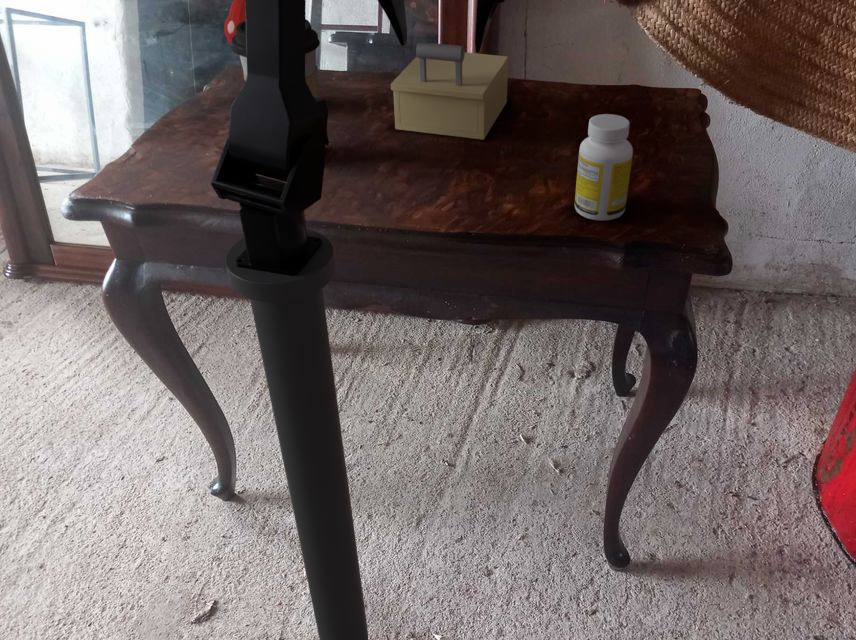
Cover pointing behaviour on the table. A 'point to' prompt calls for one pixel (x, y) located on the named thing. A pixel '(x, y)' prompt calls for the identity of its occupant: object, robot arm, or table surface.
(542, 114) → the table surface
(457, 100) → the wooden box
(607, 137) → the supplement bottle
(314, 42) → the coffee cup
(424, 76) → the lid
